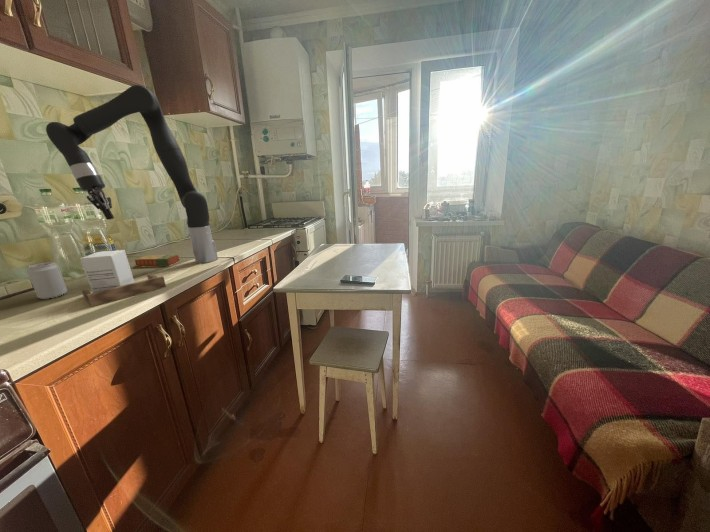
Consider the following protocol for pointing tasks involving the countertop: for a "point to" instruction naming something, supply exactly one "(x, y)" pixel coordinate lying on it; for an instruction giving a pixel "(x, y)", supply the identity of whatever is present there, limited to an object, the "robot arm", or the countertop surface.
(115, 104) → the robot arm
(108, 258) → the supplement box
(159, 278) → the wooden tray
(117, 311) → the countertop surface
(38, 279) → the can
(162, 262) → the carton
